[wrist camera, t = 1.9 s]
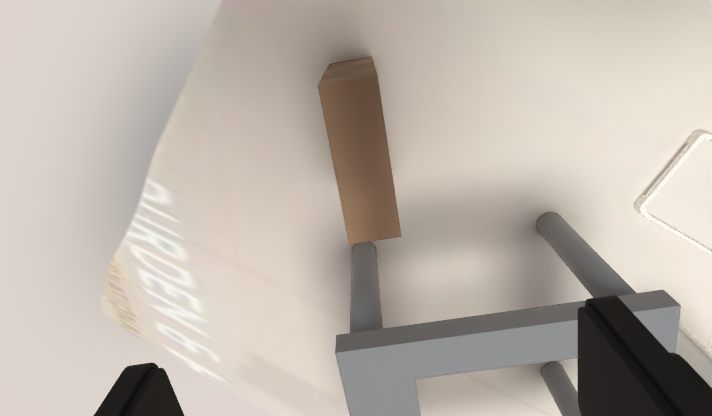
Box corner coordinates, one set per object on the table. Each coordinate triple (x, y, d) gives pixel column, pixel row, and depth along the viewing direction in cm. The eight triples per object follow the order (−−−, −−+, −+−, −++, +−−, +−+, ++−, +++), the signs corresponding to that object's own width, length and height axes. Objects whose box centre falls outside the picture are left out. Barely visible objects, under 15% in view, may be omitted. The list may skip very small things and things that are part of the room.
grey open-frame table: (376, 406, 45) (385, 597, 30) (342, 238, 38) (333, 379, 24) (568, 381, 44) (675, 568, 29) (568, 203, 37) (707, 329, 22)
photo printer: (708, 364, 43) (834, 491, 32) (665, 389, 44) (772, 520, 33) (652, 292, 40) (769, 403, 29) (608, 320, 41) (704, 437, 30)
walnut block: (351, 183, 37) (349, 244, 27) (329, 64, 33) (317, 85, 24) (389, 177, 36) (401, 236, 27) (371, 56, 33) (377, 74, 23)
